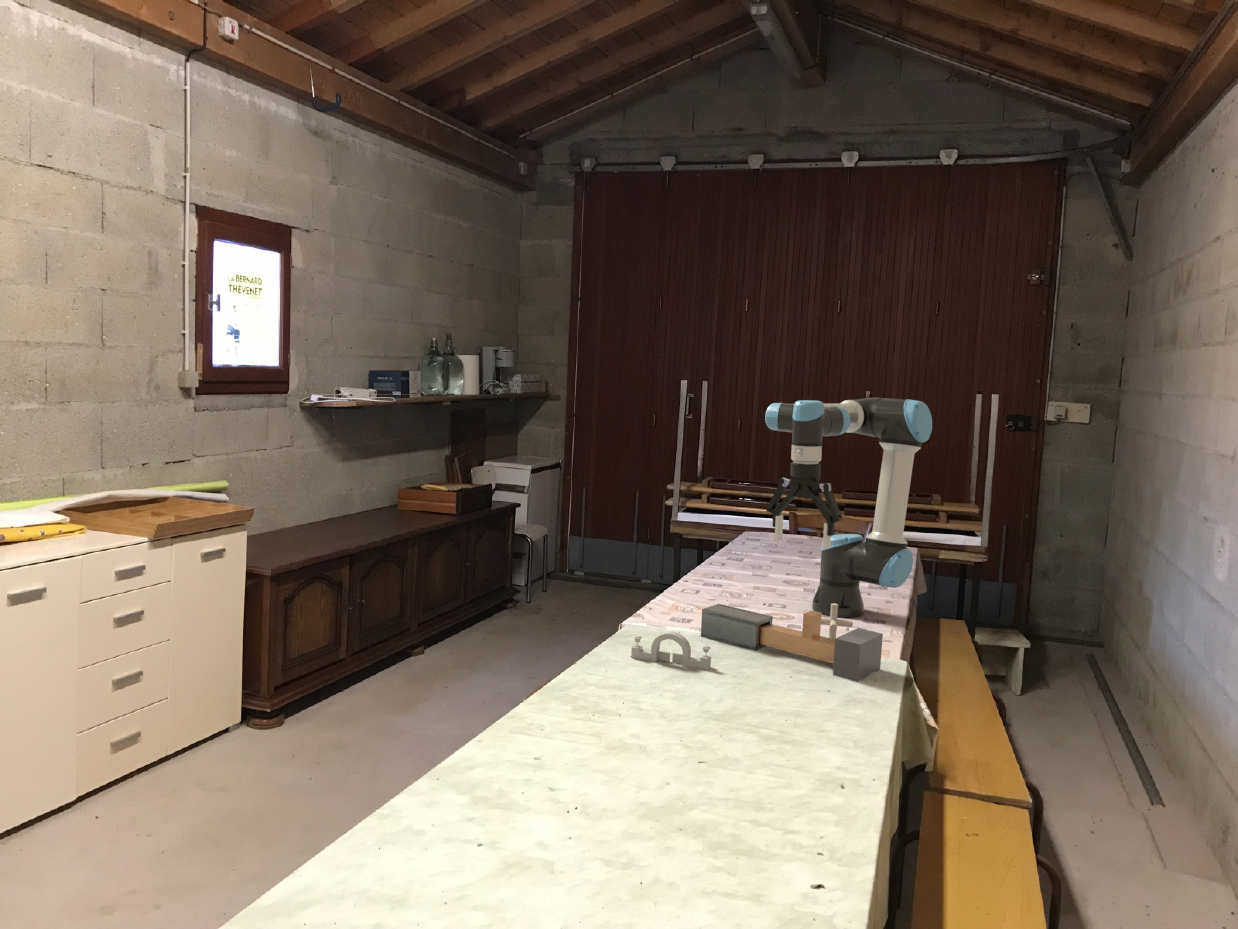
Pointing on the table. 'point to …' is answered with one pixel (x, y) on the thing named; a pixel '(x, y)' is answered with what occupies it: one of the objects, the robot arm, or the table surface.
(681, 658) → the gateway
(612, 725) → the table surface
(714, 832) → the table surface
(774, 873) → the table surface
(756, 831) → the table surface
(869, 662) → the socket block
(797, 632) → the orange-brown sliding bolt
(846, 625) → the cream cross joint
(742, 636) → the sleeve
